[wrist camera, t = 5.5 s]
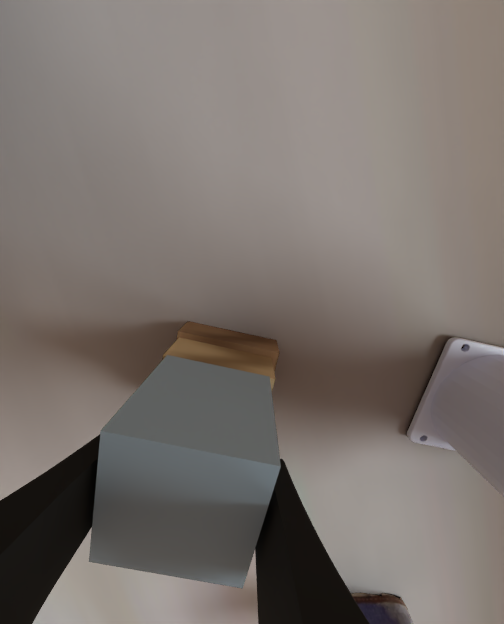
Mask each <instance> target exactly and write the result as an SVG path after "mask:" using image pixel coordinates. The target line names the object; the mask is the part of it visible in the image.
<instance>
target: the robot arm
mask: <svg viewBox="0 0 504 624" xmlns="http://www.w3.org/2000/svg"><path fill="white" fill-rule="evenodd" d="M463 345H464V347H463V348H462V349H461V347H462V346H463ZM421 436H422V437H421ZM407 437H408V438H409V439H410V440H411V441H412V442H415V443H420V444H425V445H430V446H435V447H440V448H445V449H450V450H455V451H457V452H458V453H459V454H460V455H461V456H462V457H463V458H464V459H465V460H466V461H467V462H468V463H469V464H470V465H471V466H472V467H473V468H474V469H475V470H476V471H477V472H479V473H480V474H481V475H482V476H483V477H484V478H485V479H486V480H487V481H488V482H489V483H490V484H491V485H492V486H493V487H494V488H495V489H496V490H497V491H498V492H499V493H500V494H501V495H502V496H503V497H504V348H503V347H499V346H494V345H490V344H485V343H481V342H476V341H472V340H467V339H463V338H458V337H453V338H450V339H449V340H448V341H447V343H446V345H445V347H444V349H443V352H442V354H441V356H440V358H439V361H438V363H437V365H436V368H435V370H434V372H433V374H432V377H431V379H430V381H429V383H428V386H427V388H426V390H425V393H424V395H423V397H422V399H421V402H420V404H419V406H418V409H417V411H416V413H415V415H414V418H413V420H412V422H411V425H410V427H409V429H408V431H407ZM99 444H100V435H98V436H97V437H96V438H94V439H93V440H91V441H90V442H89V443H87V444H86V445H84V446H83V447H82V448H80V449H79V450H77V451H76V452H74V453H73V454H72V455H70V456H69V457H67V458H66V459H64V460H63V461H61V462H60V463H58V464H57V465H55V466H54V467H52V468H51V469H49V470H48V471H46V472H45V473H43V474H42V475H40V476H39V477H37V478H36V479H34V480H32V481H31V482H29V483H28V484H26V485H25V486H23V487H21V488H20V489H18V490H17V491H15V492H14V493H12V494H10V495H9V496H7V497H5V498H4V499H2V500H0V624H32V623H33V621H34V619H35V618H36V616H37V614H38V612H39V610H40V609H41V607H42V605H43V604H44V602H45V600H46V599H47V597H48V595H49V594H50V592H51V590H52V589H53V587H54V585H55V584H56V582H57V581H58V579H59V577H60V576H61V574H62V573H63V571H64V570H65V568H66V566H67V565H68V563H69V562H70V560H71V559H72V557H73V555H74V554H75V552H76V551H77V549H78V548H79V546H80V544H81V543H82V541H83V540H84V538H85V537H86V535H87V533H88V532H89V530H90V529H91V527H92V522H93V511H94V500H95V489H96V477H97V466H98V455H99ZM280 464H281V467H280V470H279V474H278V477H277V480H276V483H275V486H274V490H273V493H272V496H271V499H270V502H269V506H268V509H267V512H266V515H265V518H264V522H263V525H262V528H261V531H260V534H259V538H258V541H257V544H256V547H255V551H256V575H257V598H258V623H259V624H370V623H369V622H368V620H367V619H366V617H365V615H364V614H363V612H362V611H361V609H360V608H359V606H358V604H357V603H356V601H355V600H354V598H353V596H352V595H351V593H350V591H349V590H348V588H347V586H346V585H345V583H344V581H343V580H342V578H341V576H340V575H339V573H338V571H337V570H336V568H335V566H334V564H333V562H332V561H331V559H330V557H329V555H328V553H327V552H326V550H325V548H324V546H323V544H322V542H321V540H320V539H319V537H318V535H317V533H316V531H315V529H314V527H313V525H312V523H311V521H310V519H309V517H308V515H307V512H306V510H305V508H304V506H303V504H302V502H301V500H300V498H299V495H298V493H297V491H296V489H295V486H294V484H293V482H292V479H291V477H290V475H289V472H288V470H287V467H286V465H285V462H284V461H283V459H280Z"/></svg>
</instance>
